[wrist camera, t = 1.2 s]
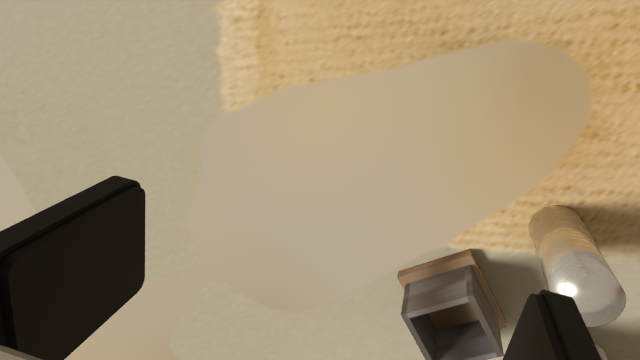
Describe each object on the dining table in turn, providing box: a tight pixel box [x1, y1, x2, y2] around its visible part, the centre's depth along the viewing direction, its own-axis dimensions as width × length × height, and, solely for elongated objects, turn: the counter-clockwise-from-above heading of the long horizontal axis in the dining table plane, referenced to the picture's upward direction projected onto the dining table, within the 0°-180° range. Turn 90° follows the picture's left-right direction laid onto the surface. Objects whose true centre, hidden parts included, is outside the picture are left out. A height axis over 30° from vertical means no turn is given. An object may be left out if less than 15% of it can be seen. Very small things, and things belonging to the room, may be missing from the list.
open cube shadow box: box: [397, 249, 506, 360], centre depth 39 cm, size 7×8×6 cm
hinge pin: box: [529, 206, 626, 327], centre depth 33 cm, size 4×4×10 cm
